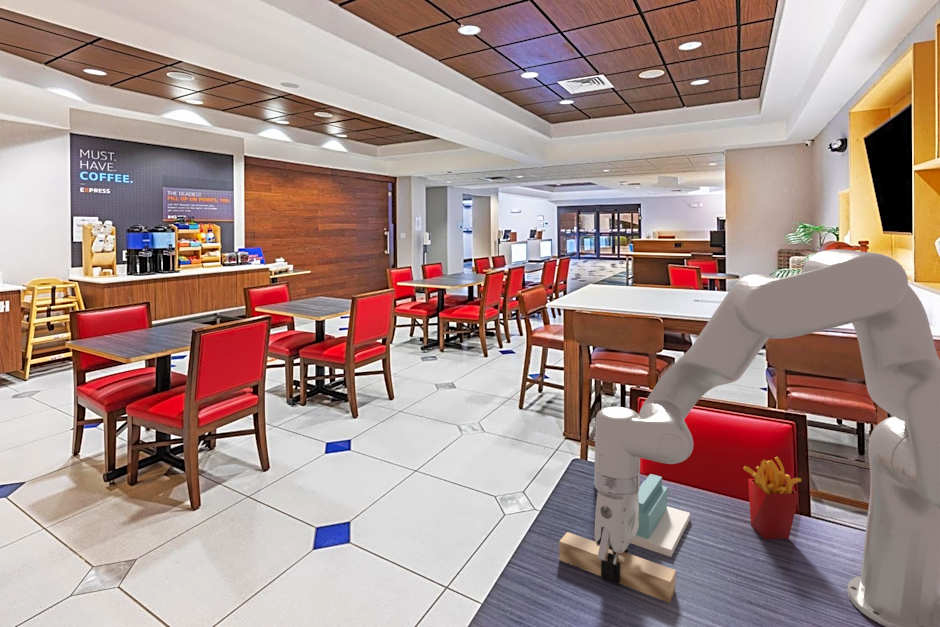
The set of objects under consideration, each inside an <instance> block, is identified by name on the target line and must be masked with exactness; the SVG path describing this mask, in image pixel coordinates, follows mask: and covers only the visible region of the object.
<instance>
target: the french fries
mask: <svg viewBox="0 0 940 627" xmlns="http://www.w3.org/2000/svg"><path fill="white" fill-rule="evenodd" d="M774 459H775V461H776V463H777V464H778V466H779V467H778V466H777V464H776V463H775V462H774V460H773V459H770V460H766V459H762V461H760V466H759V465H757V466H756V467H755V469H756V470H757V472H756V471H755V470H753V469H752V468H751V467H749V466H747V465H744V466H743V470H744V471H745V472H747V473H749V474H750V475H751V476H752V477H753V478H748V480H747V481H748V496H749V497H748V498H749V500H748V501H749V513H750V514H749V515H750V526H751V527H752V528H753V529H754V530H755V531H756V532H757V533H758V535H759V536H761V537H762V538H763V539H764V540H780V539H781V540H782V539H783V540H784V539H785V540H786V539H789V540H790V534H791V530H792V528H793V527H792V526H793V522H794V518H795V514H796V510H797V505H798V501H799V497H800V495H799V494H800V493H799V492H798V491H795V489H793V486H794V485H795V484H797V483H802V478H800V477H794V478H791V475H790V474H787V473H786V474H785V468H784V465H783V463H782V461H781V459H780V458H779V457H778V456H776V457H774ZM779 468H780V469H779Z"/></svg>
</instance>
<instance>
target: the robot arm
mask: <svg viewBox="0 0 940 627" xmlns="http://www.w3.org/2000/svg"><path fill="white" fill-rule="evenodd" d="M801 271H802V272H800V273H796V274H793V275H788V276H782V277H778V276H775V275H769V274H765V273H764V274H762V273H756V274H755V273H754V274H750V275H746V276H744V277H742V278H740V279H739V280H738V281H737V282H735V283H734V285H733V286H732V287H731V288H730V289H729V291H728V292H727V294H726V295H725V296H724V298H723V300H722V301H721V302H720V304H719V305H718V307H717V309H715V311H714V313H713V314H712V316H711V317H710V319H709V320H708V321H707V323H706V325H705V326H704V327H703V329H702V330H701V332H700V333H699V335H698V336H697V338H696V339H695V341H694V342H693V343H692V345H691V346H690V348H689V349H688V350H687V351H686V352H685V353H684V354H683V355H681V356H680V358H679V359H678V360H677V361H676V362H675V363H674V364H672V366H670V367H669V368H668V369H667V371H665V373H664V374H663V375H662V376H661V377H660V378H659V380H658V381H657V382H656V384H655V385H654V387H653V389H652V390H651V392H650V393H649V395H648V397H647V398H646V399H645V401H644V403H643V404H642V406H641V408H640V410H639V413H637V412H636V411H635V410H633V409H631V408H629V407H622V406H608V407H604V408H602V409H600V410H599V411H598V412H597V413H596V415H595V426H594V427H595V431H594V466H595V483H594V482H593V486H594V485H595V486H594V488H595V489H596V490H597V494H596V495H597V496H596V503H595V504H596V505H595V513H594V514H595V517H594V541H595V543H596V545H597V546H599V545H600V547H599V552H598V558H599V559H601V576H600V578H602V579H603V580H604V581H607V582H610V583H612V584H615V585H619V582H620V563H619V562H618V557H619V554H621V553H623V552H625V553H629V546H630V544H631V543H630V542H631V541H632V539H633V538H634V536H635V535H636V533H637V531H638V528H639V501H638V492H639V487H640V474H641V471H640V470H641V459H643V460H648V461H653V462H657V463H660V464H668V465H675V464H679V463H682V462H684V461H686V460H688V458H689V457H690V456H691V455H692V453H693V450H694V439H693V435H692V433H691V430H690V429H689V427H688V424H687V423H686V421H685V420H686V418H687V417H688V415H689V413H690V412H691V411H692V409H693V408H694V407H695V405H696V404H697V403H698V401H699V400H701V398H702V397H703V396H704V395H705V394H706V393H707V392H709V391H711V390H712V389H714V388H716V387H719V386H724V385H729V384H731V383H734V382H737V381H739V379H740V378H742V376H743V375H744V373H745V372H746V371H747V369H748V367H750V365H751V363H752V362H753V361H754V359H755V358H756V356H758V354H759V352H760V351H761V350H762V348H763V347H764V346H765V344H766V342H768V341H769V340H770V339H773V340H776V339H777V340H779V339H780V340H781V339H789V338H795V337H801V336H805V335H810V334H813V333H814V334H815V333H818V332H821V331H826V330H831V329H833V328H838V327H842V326H845V325H849V324H852V326H853V328H854V331H855V335H856V338H857V342H858V346H859V351H860V358H861V362H862V368H863V373H864V378H865V386H866V389H867V393H868V395H869V397H870V399H871V400H872V402H874V403H875V405H877V406H878V407H879V408H881V409H882V410H884V411H885V412H887V414H890V415H892V416H890V417H887V418H885V419H883V420H882V421H880V422H879V423H878V424H877V425H876V426H875V427H874V428H873V429H872V431H871V434H870V436H869V439H868V452H867V453H868V462H869V473H870V474H869V475H870V476H869V477H870V484H869V486H870V488H869V501H868V510H867V516H866V517H867V518H866V527H865V533H864V534H865V536H864V547H863V553H862V562H861V570H860V571H861V572H860V575H859V576H856V577H854V578H852V579H850V581H849V582H848V583H847V584H848V585H847V595H848V599H850V601H851V603H852V604H853V605H854V607H855V608H857V609H858V610H859V611H860V612H861V613H862V614H863V615H864V616H866V617H868V618H869V619H870V620H873V621H874V622H876V623H877V624H879V625H881V626H884V627H940V358H939V355H938V353H937V350H936V345H935V341H934V337H933V332H932V330H931V329H932V328H931V325H930V322H929V319H928V315H927V314H928V313H927V312H926V309H925V307H924V305H923V303H922V301H921V299H920V298H919V296H918V295H917V293H916V292H915V291H914V289H912V287H911V286H910V285H909V278H908V275H907V272H906V270H905V269H904V267H903V266H902V265H901V264H900V263H899V262H898V261H897V260H895V259H893V258H892V257H890V256H888V255H885V254H881V253H877V252H876V253H875V252H871V251H870V252H869V251H858V250H851V249H838V248H837V249H835V248H834V249H833V248H832V249H827V250H826V249H825V250H822V251H819V252H816V253H815V254H813V255H811V256H810V257H809V258H808V259H807V260H806V262H804V265H803V267H802V270H801ZM609 549H610V550H613V551H614V556H613V555H612V554H611V553H608V550H609Z"/></svg>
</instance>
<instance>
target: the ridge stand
mask: <svg viewBox="0 0 940 627" xmlns="http://www.w3.org/2000/svg"><path fill="white" fill-rule="evenodd" d="M662 483H663V477H662V476H660V475H657V474H651V473H650V474H649V475H648V476H647V477H646V479H645V480H643V481H642V483H641V484H640V485H639V492H638V501H639V528H638V531H637V533H636V535H635V536H634V538H633V539H632V541H631V542H630V544H632V545H635V546H637V547H641V548H644V549H646V550H648V551H652V552H655V553H658V554H660V555H663V556H667V557H669V558H672V556H673V554H674V552H675V550H676V548H677V547H678V544H679V542H680V540H681V539H682V536H683V534H684V532H685V531H686V529H687V526H688V524H689V522H690V521H691V512H688V511H685V510H681V509H677V508H675V507H671V506H668V490H669V489H668V486H664V485H663V484H662Z"/></svg>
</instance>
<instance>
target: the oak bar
mask: <svg viewBox="0 0 940 627" xmlns="http://www.w3.org/2000/svg"><path fill="white" fill-rule="evenodd" d="M558 542H559V544H558V545H559V548H558V549H559V550H558V551H559V552H558V554H559V557H558V558H559V559H558V560H559V561H561V562H564V563H566V564H568V563H569V565H571V566H573V565H574V567H576V566H577V567H576V568H578V567H579V569H581V570H584V571H586V572H589V573H591V574H593V575H597V576H599V577H601V559H599V558H598V552H599V547H600V545H599V546H597V545H596V543H595V540H592V539H588V538H586V537H582V536H580V535H577V534H575V533H572V532H570V531H569V532H568V531H567V532H566V533H565V534H564V535H563V536H562V537H561V539H560V540H559V541H558ZM608 553H611V554H612V555H613V556H614V551H613V550H610V549H609V550H608ZM618 562H619V563H620V582H619V584H620V585H623V586H625V587H627V588H630V589H631V590H635V591H636V592H640V593H643V594H646V595H648V596H649V597H653V598H655V599H658V600H660V601H663V602H665V603H668V604H670V603H671V601H672V599H673V597H674V594H675V592H676V579H677V578H676V577H677V575H676V574H677V570H676V569H674V568H670V567H668V566H665V565H663V564H659V563H657V562H654V561H651V560H649V559H648V560H647V559H645V558H642V557H639V556H637V555H634V554H631V553H629V552H628V553H625V552H623V553H621V554H619V557H618ZM619 584H618V585H619Z"/></svg>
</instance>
